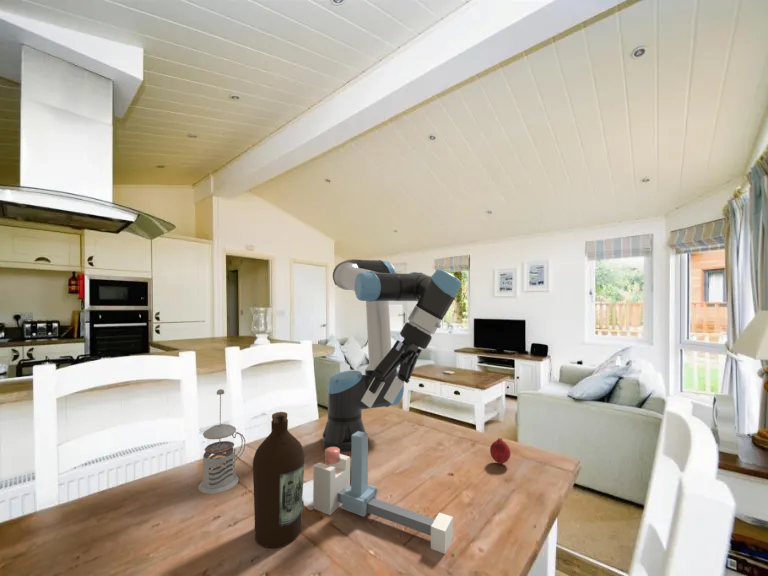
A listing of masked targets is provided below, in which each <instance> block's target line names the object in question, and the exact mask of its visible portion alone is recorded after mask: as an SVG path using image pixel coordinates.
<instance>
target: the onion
mask: <svg viewBox="0 0 768 576" xmlns="http://www.w3.org/2000/svg"><path fill="white" fill-rule="evenodd" d="M497 438H498V439H497V440H496V439H495V440H494V441H493V442H492V443H491V445H490V448H489V449H490V450H489V452H490V456H491V458H492V459H493V461H495V462H496V463H497V464H498V465H503V464H505V463H507V462H508V461H509V459H510V458H511V448H510V446H509V445H508V443H506V441H504V440H503V437H501V436H499V437H497Z"/></svg>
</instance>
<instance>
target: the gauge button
mask: <svg viewBox="0 0 768 576" xmlns="http://www.w3.org/2000/svg"><path fill="white" fill-rule="evenodd" d="M340 454H341V451H340V449H339V448H338V447H329V448H325V449H324V462H325V464H327V465H329V464H335V463H338V462H339V461H340Z"/></svg>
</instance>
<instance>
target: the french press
mask: <svg viewBox="0 0 768 576" xmlns="http://www.w3.org/2000/svg"><path fill="white" fill-rule="evenodd" d="M224 394H225V391H224V389H218V390H217V391H216V395H219V424H216V425H213V426H211V427H209V428H207V429H206V430H205V431H203V433H202V436H203V438H204V439H206V440H219V441H216V442H212V443H210V444H208V445H207V446H205V447H204V451H205V452H204V453H203V455H202V461H203V462H202V481H201V482H200V483H199V485H198V487H197V488H198V491H199V492H200V493H202V494H209V495H211V494H212V495H213V494H218V493H223V492H225V491H228V490H230V489H231V488H234V487H235V486H236V485H237V484H238V482H239V480H240V479H239V476H238V475H237V474H236V461H237V460H239V459H240V457H241V456H242V455H243V453H244V452H245V448H246V439H245V436H244V435H243V434H242V433H240V432H239V431H237V428H236V427H235V426H233V425H232V424H226V423H221V421H222V418H221V417H222V416H221V415H222V414H221V413H222V412H221V409H222V407H221V406H222V395H224ZM237 435H239V436H240V438H241V446H240V448H239V451H238V452H237V454H236V449H235V448H234V446H235V443H234V442H233V441H230V440H224V441H221V439H225V438H228V437H231V436H232V438H234V439H236V437H237ZM243 442H244V443H243ZM242 448H243V449H242ZM241 450H242V451H241ZM240 452H241V454H240ZM239 454H240V455H239ZM238 455H239V456H238ZM210 456H211V457H210ZM217 456H223V457H217ZM237 456H238V457H237ZM215 457H216V458H215Z"/></svg>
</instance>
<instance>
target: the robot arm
mask: <svg viewBox="0 0 768 576" xmlns="http://www.w3.org/2000/svg"><path fill="white" fill-rule="evenodd" d="M332 281H333V282H334V284H335V285H336V286H337V287H338V288H339V289H342V290H345V291H353V292H354V293H355V297H356V298H357V299H358V300H359V301H360V302H361V301H362V302H365V307H366V330H367V349H368V350H367V351H368V365H367V366H366V368H365V369H364V370H365V371H364V372H365V373H364V374H362V372H361V371H359V370H346V371H341V372H337V373H335V374H333V375H331V376H330V377H329V378H328V384H327V391H326V392H327V421H326V424H325V427H324V431H323V434H322V437H321V438H322V442H321V443H322V445H323V446H324V447H325V449H327V448H329V447H338V448H339V449H340V452H345V451H346V452H347V451H351V446H352V435H353V434H354V433H356V432H357V431H360V432H365V433H367V432H366V429H365V425H364V421H363V419H362V417H363V416H362V412H363V410H367V409H368V410H369V409H376V408H377V409H378V408H384V407H385V408H389V407H393V406H397V405H398V404H399V403H400V402H401V401H402V399H403V397H404V391H405V383H406V384H409V383H410V379H411V377H412V374H413V371H414V369H415V366H416V364H417V362H418V359H419V356H420V354H421V353H422V349H423V350H425V349H427V347H428V346H429V344H430V342H431V341H432V339H433V337H432V335H434V334H436V332H437V330H438V329H440V328H441V326H442V325H441V322H442V321H443V319H444V318H445V316H446V314H447V313H448V311H449V309H450V307H451V306H452V304H453V302H454V301H455V299H456V298H457V296H458V293H459V291H460V289H461V288H462V281H461V280H460V279H459V278H458V277H456V276H455V275H453V274H452V273H449V272H448V271H446V270H443V269H440V268H439V269H437V270H435V271H434V273H433V274H432V275H427V274H425V273H423V272H417V271H413V272H409V273H401V272H400V273H398V272H397V271H396V268H395V267H394V265H393V264H392V263H391V262H390V261H389V260H387V261H386V260H382V259H381V260H380V259H371V260H370V259H347V260H343V261H341V262H339V263H338V264H336V266H335V267H334V268H333V271H332ZM390 302H417V303H416V304H415V306H414V308H413V310H412V311H411V313H410V314H409V316H408V317H407V320H408V321H407V322H405V323H404V325H403V327H402V328H401V330H400V333H399V335H400V336H401V337H402V338H403V340H402V342H401V341H400V340H396V341H395V343H394V345H393V346H392V337H391V335H392V334H391V322H390V321H391V320H390V318H391V317H390V307H389V305H390ZM398 367H399V368H398ZM397 368H398V369H399V370H398V369H397Z"/></svg>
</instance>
